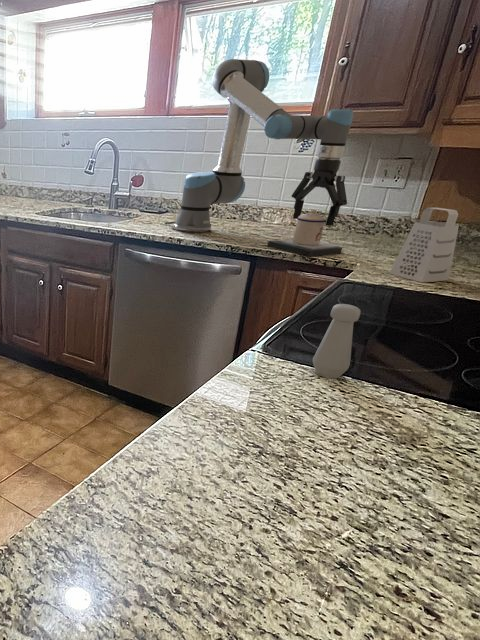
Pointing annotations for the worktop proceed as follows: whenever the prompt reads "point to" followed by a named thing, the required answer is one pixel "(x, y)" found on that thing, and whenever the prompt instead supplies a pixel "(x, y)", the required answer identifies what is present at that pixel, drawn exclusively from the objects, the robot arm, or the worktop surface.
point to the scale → (305, 248)
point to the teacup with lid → (309, 228)
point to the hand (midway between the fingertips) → (312, 221)
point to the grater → (428, 249)
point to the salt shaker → (336, 342)
